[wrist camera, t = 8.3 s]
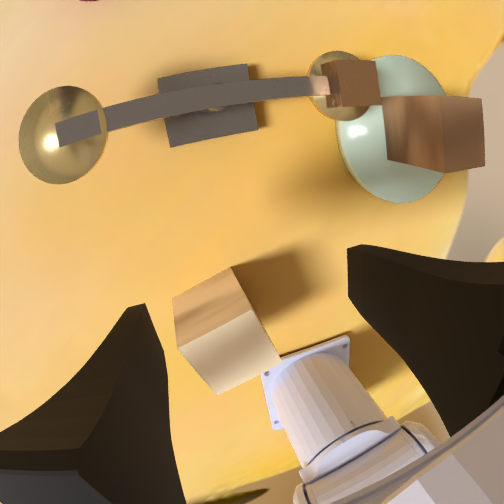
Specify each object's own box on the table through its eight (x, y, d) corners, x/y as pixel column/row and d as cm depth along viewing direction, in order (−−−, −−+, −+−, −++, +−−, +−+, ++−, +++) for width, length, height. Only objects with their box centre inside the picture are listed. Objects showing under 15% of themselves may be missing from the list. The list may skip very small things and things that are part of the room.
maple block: (257, 314, 23) (282, 362, 18) (204, 342, 23) (217, 395, 18) (230, 266, 21) (252, 309, 16) (172, 298, 21) (177, 348, 16)
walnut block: (429, 153, 21) (484, 166, 16) (387, 159, 20) (444, 173, 15) (424, 97, 19) (481, 98, 14) (380, 97, 18) (439, 95, 13)
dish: (446, 189, 24) (454, 191, 23) (343, 212, 22) (351, 216, 21) (437, 62, 19) (446, 62, 18) (324, 54, 17) (331, 51, 17)
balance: (344, 118, 19) (408, 120, 14) (69, 175, 16) (28, 197, 11) (335, 61, 18) (397, 44, 12) (55, 112, 15) (8, 106, 9)
